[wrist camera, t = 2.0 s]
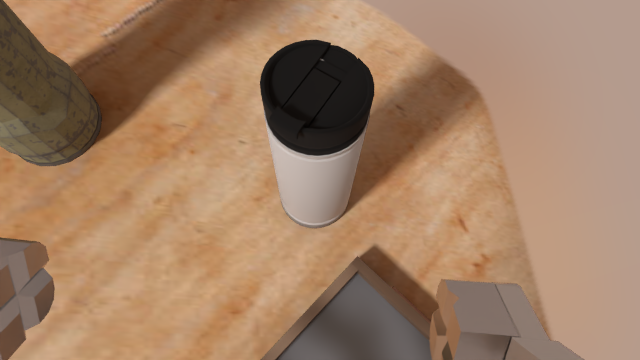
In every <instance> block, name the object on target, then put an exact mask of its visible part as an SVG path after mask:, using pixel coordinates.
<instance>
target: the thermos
mask: <svg viewBox="0 0 640 360" xmlns="http://www.w3.org/2000/svg"><path fill="white" fill-rule="evenodd" d="M101 121H102V117H101V112H100V107H99V105H98V104H97V102H96V101H95V99H94V97H93V96H92V95H91V94H90V93H89V91H88V89H87V88H86V86H85V85H84V83H83V82H82V81H81V79H80V78H79V77H78V76H77V75H76V73H75V72H74V71H73V70H72V69H71V68H70V66H69V65H68V64H67V63H65V62H64V61H63V60H61V59H60V58H58V57H57V56H55V55H54V54H52V53H50V52H48V51H47V50H46V49H45V48H44V46H43V45H42V44H41V43H40V42H39V41H38V40H37V38H36V37H35V36H34V35H33V34H32V33H31V32H30V30H29V29H28V28H27V27H26V26H25V25H24V24H23V22H22V21H21V20H20V19H19V18H18V17H17V16H16V14H15V13H14V12H13V11H12V10H11V9H10V8H9V6H8V5H7V4H6V3H5V2H4V1H3V0H0V146H1V147H3V148H4V149H6V150H7V151H9V152H11V153H14V154H17V155H19V156H20V157H21V158H23V159H24V160H25V161H27V162H30V163H33V164H36V165H39V166H57V165H60V164H64V163H67V162H70V161H72V160H74V159H75V158H77V157H79V156H80V155H82V154H83V153H84V152H85V151H86V150H87V149H88V148H89V147H90V146H91V145H92V144H93V143H94V141H95V139H96V137H97V135H98V133H99V132H100V127H101Z"/></svg>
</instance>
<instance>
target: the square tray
mask: <svg viewBox="0 0 640 360" xmlns="http://www.w3.org/2000/svg"><path fill="white" fill-rule="evenodd" d="M430 324H431V321H430V320H429V319H428V318H427V317H426V316H425V315H424V314H423V313H422V312H421V311H419V310H418V309H417V308H416V307H415V306H414V305H413V304H412V303H411V302H410V301H409V300H408V299H407V298H406V297H404V296H403V295H402V294H401V293H400V292H399V291H398V290H397V289H396V288H395V287H394V286H393V287H392V288H391V287H390V286H389V285H388V284H387V283H386V282H385V281H383V280H382V279H381V278H380V277H379V276H378V275H377V274H376V273H375V272H374V271H373V270H372V269H371V268H370V267H368V266H367V265H366V264H365V263H364V262H363V261H362V260H361V259H360V258H359V257H358V256H357V257H356V258H355V259H354V261H353V262H352V263H351V264H350V265H349V266H348V267H347V268H346V269H345V270H344V271H343V272H342V273H341V274H340V275H339V277H338V278H337V279H336V280H335V281H334V282H333V283H332V284H331V285H330V286H329V287H328V288H327V289H326V290H325V291H324V293H323V294H322V295H321V296H320V297H319V298H318V299H317V300H316V301H315V302H314V303H313V304H312V305H311V306H310V308H309V309H308V310H307V311H306V312H305V313H304V314H303V315H302V316H301V317H300V318H299V319H298V320H297V321H296V322H295V324H294V325H293V326H292V327H291V328H290V329H289V330H288V331H287V332H286V333H285V334H284V335H283V336H282V337H281V338H280V340H279V341H278V342H277V343H276V344H275V345H274V346H273V347H272V348H271V349H270V350H269V351H268V352H267V353H266V354H265V356H264V357H263V358H262V359H261V360H432V357H431V352H430V342H429V338H430Z"/></svg>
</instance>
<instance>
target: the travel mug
mask: <svg viewBox="0 0 640 360" xmlns="http://www.w3.org/2000/svg"><path fill="white" fill-rule="evenodd" d="M260 88H261V95H262V101H263V106H264V115H265V121H266V127H267V132H268V137H269V142H270V147H271V152H272V157H273V162H274V167H275V172H276V178H277V183H278V188H279V193H280V198H281V203H282V206H283V209H284V210H285V212H286V214H287V215H288V216H289V217H290V218H291V219H292V220H293V221H294V222H296V223H297V224H299V225H301V226H304V227H308V228H321V227H325V226H328V225H330V224H332V223H334V222H335V221H337V220H338V219H339V218H340V217H341V216H342V214H343V213H344V212H345V210H346V208H347V205H348V201H349V197H350V193H351V189H352V185H353V181H354V177H355V173H356V169H357V165H358V161H359V157H360V153H361V149H362V145H363V141H364V137H365V133H366V129H367V125H368V121H369V117H370V109H371V105H372V101H373V97H374V82H373V77H372V75H371V72H370V70H369V68H368V67H367V66H366V65H365V64H364V63H363V62H362V61H361V60H360V59H359V58H358V59H357V58H356V56H355V55H354V54H352V53H350V52H349V51H347V50H346V49H343V48H341V47H339V46H334V45H331V43H329V42H324V41H320V40H305V41H300V42H295V43H293V44H290V45H288V46H285V47H284V48H282V49H280V50H279V51H277V52H276V53H275V54H274V55H273V56H272V57H271V58H270V59H269V60H268V62H267V63H266V65H265V67H264V69H263V71H262V74H261V80H260Z"/></svg>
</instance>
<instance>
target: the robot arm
mask: <svg viewBox="0 0 640 360" xmlns="http://www.w3.org/2000/svg"><path fill="white" fill-rule="evenodd" d="M48 261H49V258H48V254H47V250H46V246H44V245H43V244H41V243H40V242H36V241H27V240H18V239H9V238H0V360H8V359H9V358H10V357H11V356H12V355H13V353H14V352H15V351H16V350H17V349H18V348H19V347H20V345H21V344H22V343H23V342H24V341H25V340H26V334H25V330H27V329H29V328H31V327H33V326H35V325H37V324H39V323H40V322H41V321H42V320H43V319H44V318H45V316H46V315H47V314H48V312H49V310H50V307H51V305H52V302H53V300H54V283H53V278H52V277H51V276H50V275H49V274H48V273H47V271H46V270H45V269H44V267H45V265H46V264H47V262H48ZM436 297H437V301H438V305H439V308H438V309H437V310H436V311H435V312H433V313H432V319H431V324H430V338H429V342H430V352H431V357H432V360H584V359H582V358H581V357H580V356H578V355H577V354H575V353H574V352H573V351H571V350H570V349H568V348H567V347H565V346H564V345H562V344H561V343H560V342H558V341H550V339H549V338H548V336H547V334H546V332H545V330H544V328H543V327H542V325H541V323H540V321H539V319H538V317H537V316H536V314H535V312H534V310H533V308H532V307H531V305H530V303H529V301H528V299H527V297H526V296H525V294H524V292H523V290H522V288H521V287H520V286H519V285H517V284H511V283H494V282H491V283H486V282H473V281H460V280H447V279H441V281H440V283H439V285H438V290H437V294H436Z"/></svg>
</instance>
